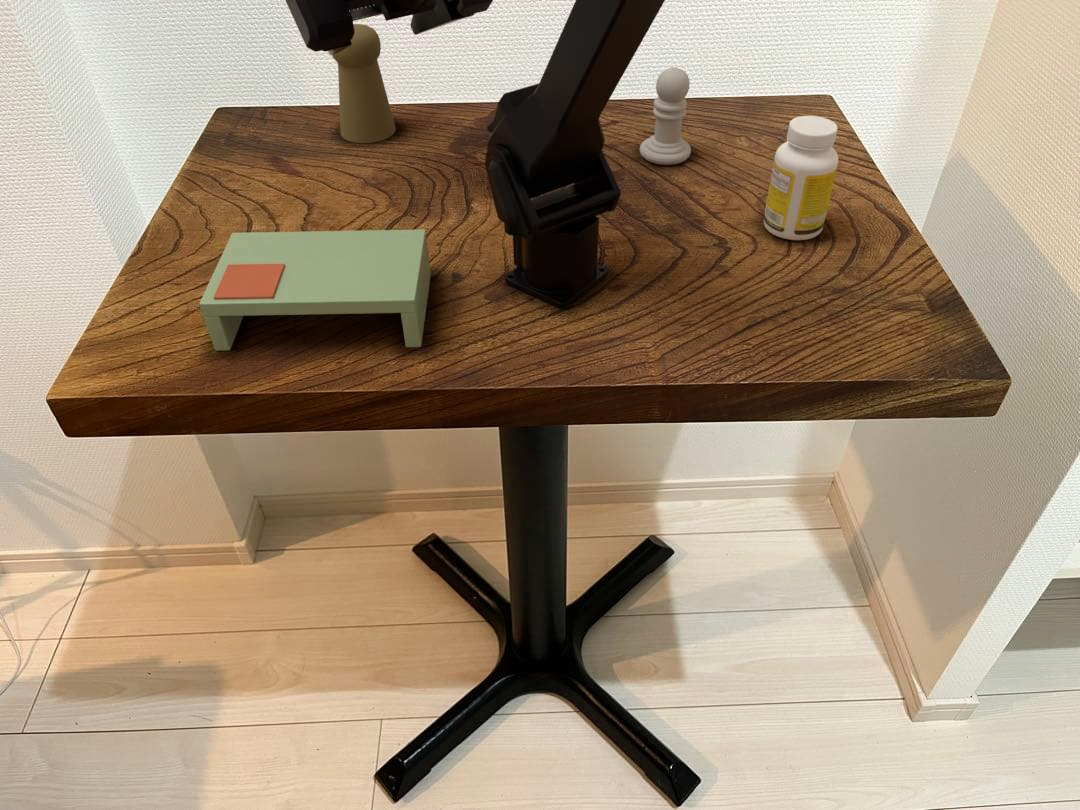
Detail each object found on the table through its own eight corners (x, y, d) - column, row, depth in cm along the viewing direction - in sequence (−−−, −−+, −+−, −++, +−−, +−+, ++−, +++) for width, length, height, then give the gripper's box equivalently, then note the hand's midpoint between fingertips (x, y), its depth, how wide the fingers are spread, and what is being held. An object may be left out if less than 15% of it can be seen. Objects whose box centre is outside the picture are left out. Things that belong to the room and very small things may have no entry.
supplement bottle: (827, 219, 80) (852, 118, 74) (815, 247, 77) (840, 144, 70) (770, 207, 82) (789, 107, 75) (755, 234, 78) (774, 132, 72)
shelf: (421, 347, 67) (414, 297, 64) (214, 351, 67) (197, 301, 64) (430, 274, 74) (425, 226, 71) (245, 277, 74) (231, 230, 71)
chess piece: (696, 148, 91) (707, 63, 85) (681, 170, 87) (691, 83, 81) (649, 139, 93) (656, 55, 87) (631, 160, 89) (637, 74, 83)
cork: (391, 143, 93) (377, 38, 85) (335, 143, 93) (316, 38, 85) (399, 118, 97) (386, 17, 90) (346, 118, 97) (328, 17, 90)
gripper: (471, -164, 74) (421, -54, 88) (264, -136, 66) (246, -19, 80) (524, -43, 75) (466, 48, 89) (326, 0, 67) (297, 92, 81)
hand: (372, 39), depth 85 cm, fingers open, 9 cm apart
